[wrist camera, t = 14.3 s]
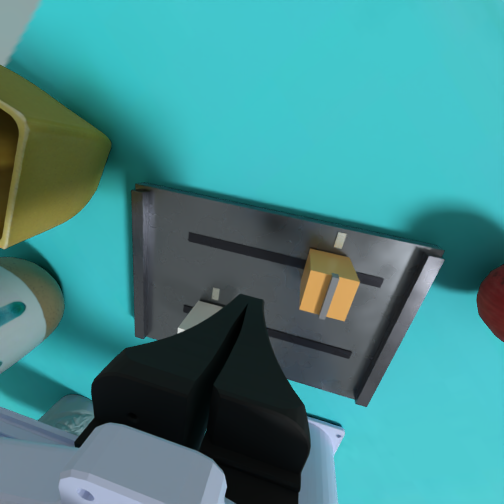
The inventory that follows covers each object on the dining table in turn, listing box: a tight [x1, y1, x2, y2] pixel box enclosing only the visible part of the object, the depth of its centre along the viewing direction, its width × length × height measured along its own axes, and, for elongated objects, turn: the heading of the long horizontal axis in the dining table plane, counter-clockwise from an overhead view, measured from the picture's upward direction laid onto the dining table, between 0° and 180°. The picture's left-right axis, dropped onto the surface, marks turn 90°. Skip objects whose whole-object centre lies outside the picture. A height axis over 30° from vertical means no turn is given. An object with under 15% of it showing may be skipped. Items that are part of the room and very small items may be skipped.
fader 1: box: [178, 301, 223, 333], centre depth 21 cm, size 3×3×4 cm
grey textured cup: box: [38, 394, 94, 436], centre depth 31 cm, size 10×10×12 cm
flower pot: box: [0, 65, 111, 249], centre depth 17 cm, size 9×9×9 cm
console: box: [131, 182, 445, 407], centre depth 22 cm, size 16×24×2 cm, turn 80°
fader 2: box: [299, 248, 360, 321], centre depth 17 cm, size 3×3×4 cm
